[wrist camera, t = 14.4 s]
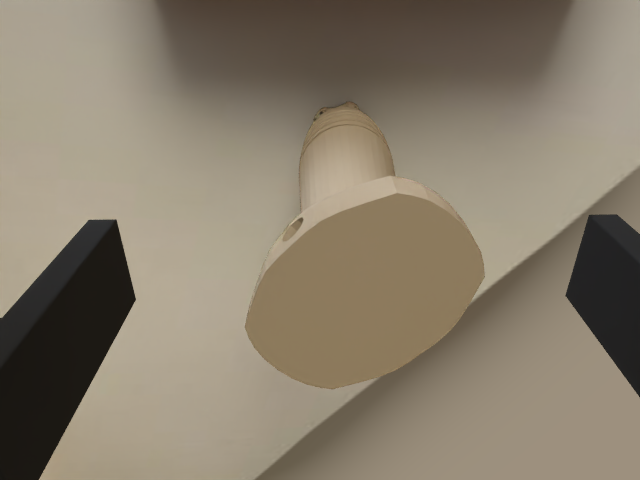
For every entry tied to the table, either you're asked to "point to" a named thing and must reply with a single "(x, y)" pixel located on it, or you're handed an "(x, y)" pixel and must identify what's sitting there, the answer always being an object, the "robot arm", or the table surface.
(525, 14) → the table surface
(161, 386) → the table surface
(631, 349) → the robot arm
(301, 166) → the handle
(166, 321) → the table surface
